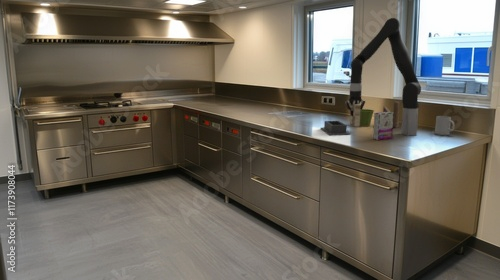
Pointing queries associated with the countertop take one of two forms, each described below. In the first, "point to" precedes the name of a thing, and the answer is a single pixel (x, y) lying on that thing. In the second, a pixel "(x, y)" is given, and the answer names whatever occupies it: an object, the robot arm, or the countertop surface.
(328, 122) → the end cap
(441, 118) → the mug
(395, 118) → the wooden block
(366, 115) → the plant pot
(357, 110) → the beige printed box
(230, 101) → the countertop surface
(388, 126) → the candy bar box
